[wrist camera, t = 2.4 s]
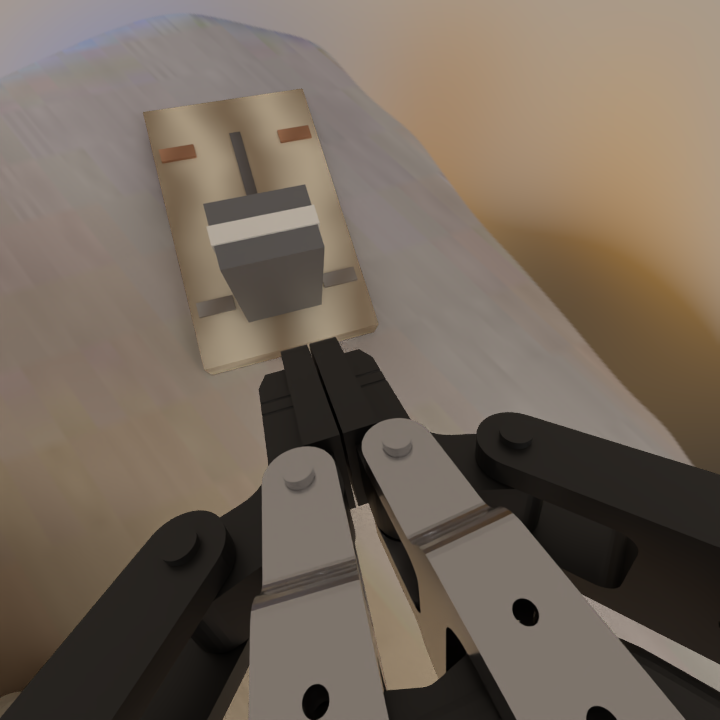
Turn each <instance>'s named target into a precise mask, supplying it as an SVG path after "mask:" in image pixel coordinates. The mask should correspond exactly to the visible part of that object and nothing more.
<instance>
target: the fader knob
mask: <svg viewBox="0 0 720 720" xmlns="http://www.w3.org/2000/svg"><path fill="white" fill-rule="evenodd" d="M203 206H204V210H205V214H206V218H207V221H208V225H209V226H206V227H207V231H208V235H209V239H210V243H211V246H212V248H213V250H214V252H215V254H216V256H217V260H218V264H219V268H220V271H221V273H222V275H223V277H224V278H225V280H226V282H227V284H228V286H229V288H230V289H231V291H232V293H233V295H234V297H235V299H236V300H237V302H238V304H239V306H240V308H241V309H242V311H243V313H244V315H245V317H246V319H247V320H248V322H253V321H257V320H261V319H265V318H269V317H273V316H277V315H281V314H285V313H289V312H293V311H297V310H301V309H305V308H310V307H314V306H318V305H322V287H323V269H324V250H325V246H324V243H323V240H322V237H321V234H320V230H319V226H320V222H319V219H318V216H317V213H316V209H315V206H314V205H311V201H310V198H309V195H308V192H307V188H306V185H305V184H304V185H299V186H294V187H288V188H283V189H278V190H273V191H268V192H262V193H257V194H252V195H247V196H242V197H236V198H231V199H226V200H221V201H216V202H210V203H205V204H203Z"/></svg>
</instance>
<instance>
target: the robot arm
mask: <svg viewBox="0 0 720 720" xmlns="http://www.w3.org/2000/svg"><path fill="white" fill-rule="evenodd" d="M309 347H310V351H311V354H310V351H309V348H308V346H307V344H306V345H302V346H299V347H295V348H291V349H287V350H284V351H280V352H281V357H282V361H283V365H284V369H285V370H282V371H278V372H275V373H271V374H267V375H265V377H264V379H263V381H262V383H261V385H260V388H259V395H260V402H261V410H262V416H263V417H262V418H263V426H264V433H265V441H266V449H267V457H268V467H267V469H266V471H265V473H264V475H263V479H262V485H261V486H260V487H259V489H258V490H257V491H256V492H255V493H254V494H253V495H252V496H251V497H250V498H249V499H248V500H246V501H245V502H243V503H242V504H241V505H239V506H237V507H236V508H234V509H233V510H231V511H230V512H228V513H226V514H225V515H223V516H222V517H220V518H219V517H218V516H217V515H216V514H214V513H212V512H208V511H199V510H198V511H191V512H187V513H184V514H182V515H179V516H177V517H175V518H173V519H171V520H170V521H168V522H167V523H166V524H164V525H163V526H162V527H161V528H159V529H158V530H157V531H156V532H155V533H154V534H153V535H152V536H151V538H150V539H149V540H148V541H147V542H146V544H145V545H144V546H143V547H142V548H141V550H140V551H139V552H138V553H137V554H136V556H135V557H134V558H133V559H132V560H131V562H130V563H129V564H128V565H127V566H126V568H125V569H124V570H123V571H122V572H121V574H120V575H119V576H118V577H117V578H116V580H115V581H114V582H113V583H112V584H111V586H110V587H109V588H108V589H107V590H106V592H105V593H104V594H103V595H102V596H101V598H100V599H99V600H98V601H97V602H96V604H95V605H94V606H93V607H92V608H91V610H90V611H89V612H88V613H87V614H86V616H85V617H84V618H83V619H82V620H81V621H80V623H79V624H78V625H77V626H76V627H75V629H74V630H73V631H72V632H71V633H70V635H69V636H68V637H67V638H66V639H65V641H64V642H63V643H62V644H61V645H60V647H59V648H58V649H57V650H56V651H55V653H54V654H53V655H52V656H51V657H50V659H49V660H48V661H47V662H46V663H45V665H44V666H43V667H42V668H41V669H40V671H39V672H38V673H37V674H36V675H35V677H34V678H33V679H32V680H31V681H30V683H29V684H28V685H27V686H26V687H25V689H24V690H23V691H22V692H21V693H20V695H19V696H18V697H17V698H16V699H15V701H14V702H13V703H12V704H11V705H10V707H9V708H8V709H7V710H6V711H5V713H4V714H3V715H2V716H1V717H0V720H223V717H224V715H225V713H226V711H227V709H228V707H229V705H230V703H231V701H232V699H233V697H234V695H235V693H236V691H237V689H238V687H239V685H240V683H241V681H242V679H243V677H244V675H245V673H246V671H247V669H248V667H249V720H720V692H719V691H717V690H715V689H714V688H712V687H710V686H708V685H707V684H705V683H703V682H701V681H699V680H698V679H696V678H694V677H692V676H691V675H689V674H687V673H685V672H684V671H682V670H680V669H678V668H677V667H675V666H673V665H671V664H670V663H668V662H666V661H664V660H663V659H661V658H659V657H657V656H655V655H654V654H652V653H650V652H648V651H646V650H644V649H643V648H641V647H639V646H636V645H634V644H632V643H629V642H627V641H625V640H623V639H620V638H617V636H616V635H615V634H614V633H613V632H612V630H611V629H610V628H609V627H608V626H607V624H606V623H605V622H604V621H603V620H602V618H601V617H600V616H599V615H598V614H597V612H596V611H595V610H594V609H593V607H592V606H591V605H590V604H589V603H588V601H587V600H586V599H585V598H584V597H583V595H585V596H586V597H588V598H590V599H592V600H594V601H596V602H598V603H600V604H602V605H604V606H606V607H608V608H610V609H612V610H614V611H616V612H618V613H620V614H622V615H624V616H626V617H628V618H630V619H632V620H634V621H636V622H638V623H640V624H641V625H643V626H645V627H647V628H649V629H651V630H653V631H655V632H657V633H659V634H661V635H663V636H665V637H667V638H669V639H671V640H673V641H675V642H677V643H679V644H681V645H683V646H685V647H687V648H689V649H691V650H693V651H695V652H697V653H698V654H700V655H702V656H704V657H706V658H708V659H710V660H712V661H714V662H716V663H718V664H720V475H718V474H715V473H712V472H709V471H706V470H703V469H699V468H696V467H693V466H690V465H687V464H683V463H680V462H677V461H674V460H670V459H667V458H664V457H661V456H657V455H654V454H651V453H648V452H644V451H641V450H638V449H635V448H632V447H628V446H625V445H622V444H619V443H615V442H612V441H609V440H606V439H602V438H599V437H596V436H593V435H589V434H586V433H583V432H580V431H577V430H573V429H570V428H567V427H564V426H560V425H557V424H554V423H551V422H547V421H544V420H541V419H538V418H534V417H531V416H528V415H524V414H520V413H513V412H505V413H498V414H494V415H492V416H489V417H488V418H486V419H485V420H483V421H482V422H481V424H480V425H479V427H478V429H477V434H464V435H440V434H435V433H431V432H429V431H428V430H427V428H426V427H424V426H423V425H422V424H420V423H418V422H416V421H413V420H411V419H410V418H409V416H408V414H407V413H406V411H405V410H404V408H403V406H402V405H401V403H400V401H399V400H398V398H397V396H396V395H395V393H394V391H393V390H392V388H391V387H390V385H389V383H388V382H387V381H386V378H385V377H384V375H383V373H382V372H381V371H380V369H379V367H378V365H377V364H376V362H375V360H374V359H373V357H371V356H370V355H368V354H366V353H365V352H363V351H361V350H360V349H358V350H354V351H351V352H347V353H344V352H343V350H342V348H341V346H340V344H339V342H338V340H337V338H336V337H332V338H328V339H325V340H321V341H317V342H313V343H310V344H309ZM311 356H312V357H311ZM350 482H351V483H350ZM351 485H352V488H353V491H354V494H355V497H356V500H357V503H358V506H361V505H363V504H366V503H369V505H370V508H371V511H372V513H373V516H374V519H375V524H376V530H377V534H378V537H379V539H380V541H381V543H382V545H383V548H384V550H385V552H386V554H387V556H388V559H389V561H390V563H391V565H392V567H393V569H394V572H395V574H396V576H397V578H398V580H399V583H400V585H401V587H402V589H403V591H404V593H405V596H406V598H407V600H408V602H409V604H410V606H411V609H412V611H413V613H414V615H415V618H416V620H417V622H418V625H419V628H420V631H421V634H422V637H423V640H424V643H425V646H426V649H427V652H428V654H429V657H430V659H431V662H432V664H433V667H434V669H435V671H436V674H437V676H438V678H439V679H438V680H437V681H436V682H435V683H433V684H432V685H430V686H427V687H423V688H411V689H399V690H388V689H387V685H386V680H385V676H384V672H383V667H382V663H381V658H380V654H379V650H378V646H377V641H376V637H375V632H374V628H373V623H372V619H371V614H370V610H369V605H368V601H367V596H366V591H365V587H364V582H363V578H362V573H361V569H360V564H359V560H358V555H357V551H356V546H355V539H356V538H355V529H354V525H353V521H352V516H351V512H350V509H352V508H355V507H356V506H355V501H354V497H353V492H352V488H351ZM582 594H583V595H582Z"/></svg>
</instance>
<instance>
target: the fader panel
mask: <svg viewBox="0 0 720 720" xmlns="http://www.w3.org/2000/svg"><path fill="white" fill-rule="evenodd" d="M143 114H144V119H145V123H146V127H147V131H148V135H149V140H150V144H151V148H152V152H153V156H154V161H155V165H156V169H157V173H158V178H159V182H160V186H161V190H162V194H163V199H164V203H165V207H166V211H167V215H168V220H169V224H170V228H171V232H172V236H173V241H174V245H175V249H176V253H177V257H178V262H179V266H180V270H181V274H182V279H183V283H184V287H185V291H186V295H187V300H188V304H189V308H190V312H191V316H192V321H193V325H194V329H195V333H196V337H197V342H198V346H199V350H200V354H201V358H202V363H203V367H204V370H205V371H207V372H208V373H210V374H211V375H215V374H219V373H222V372H226V371H230V370H234V369H237V368H241V367H245V366H249V365H252V364H256V363H260V362H264V361H267V360H271V359H275V358H278V357H281V352H280V351H284V350H287V349H291V348H295V347H299V346H302V345H306V344H307V346H308V348H309V349H310V347H309V344H310V343H313V342H317V341H321V340H325V339H328V338H332V337H336V338H337V340H338V341H342V340H346V339H350V338H353V337H357V336H361V335H365V334H368V333H372V332H374V331H375V330H376V328H377V326H378V321H377V318H376V315H375V311H374V308H373V305H372V302H371V299H370V296H369V293H368V290H367V287H366V284H365V281H364V278H363V274H362V271H361V268H360V265H359V262H358V259H357V256H356V253H355V250H354V247H353V244H352V240H351V237H350V234H349V231H348V228H347V225H346V222H345V219H344V216H343V213H342V210H341V207H340V203H339V200H338V197H337V194H336V191H335V188H334V185H333V182H332V179H331V176H330V173H329V169H328V166H327V163H326V160H325V157H324V154H323V151H322V148H321V145H320V142H319V139H318V136H317V132H316V129H315V126H314V123H313V120H312V117H311V114H310V111H309V108H308V105H307V102H306V98H305V95H304V92H303V89H296V90H290V91H283V92H276V93H269V94H263V95H256V96H249V97H242V98H236V99H229V100H222V101H216V102H209V103H202V104H195V105H189V106H182V107H175V108H168V109H162V110H155V111H148V112H143ZM304 184H305V185H306V188H307V192H308V195H309V198H310V201H311V205H314V206H315V209H316V213H317V216H318V219H319V222H320V226H319V230H320V234H321V237H322V240H323V243H324V246H325V250H324V269H323V287H322V305H318V306H314V307H310V308H305V309H301V310H297V311H293V312H289V313H285V314H281V315H277V316H273V317H269V318H265V319H261V320H257V321H253V322H248V320H247V319H246V317H245V315H244V313H243V311H242V309H241V308H240V306H239V304H238V302H237V300H236V299H235V297H234V295H233V293H232V291H231V289H230V288H229V286H228V284H227V282H226V280H225V278H224V277H223V275H222V273H221V271H220V268H219V264H218V260H217V256H216V254H215V252H214V250H213V248H212V246H211V243H210V239H209V235H208V231H207V227H206V226H209V225H208V221H207V218H206V214H205V210H204V206H203V204H205V203H210V202H216V201H221V200H226V199H231V198H236V197H242V196H247V195H252V194H257V193H262V192H268V191H273V190H278V189H283V188H288V187H294V186H299V185H304Z"/></svg>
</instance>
